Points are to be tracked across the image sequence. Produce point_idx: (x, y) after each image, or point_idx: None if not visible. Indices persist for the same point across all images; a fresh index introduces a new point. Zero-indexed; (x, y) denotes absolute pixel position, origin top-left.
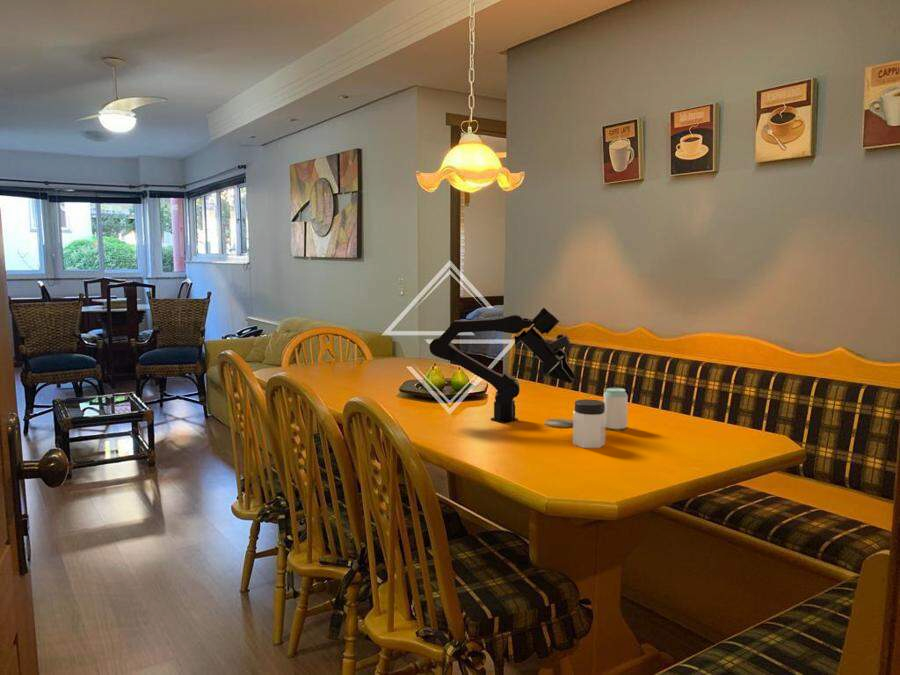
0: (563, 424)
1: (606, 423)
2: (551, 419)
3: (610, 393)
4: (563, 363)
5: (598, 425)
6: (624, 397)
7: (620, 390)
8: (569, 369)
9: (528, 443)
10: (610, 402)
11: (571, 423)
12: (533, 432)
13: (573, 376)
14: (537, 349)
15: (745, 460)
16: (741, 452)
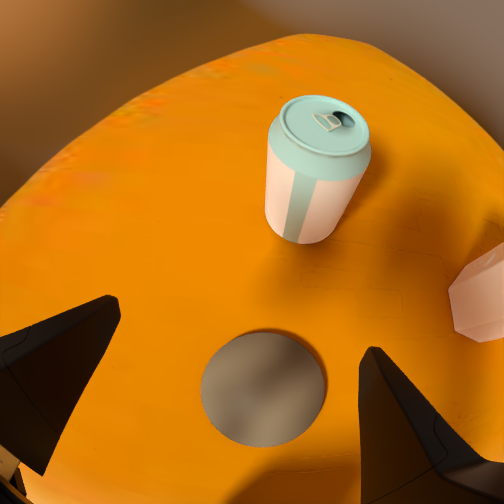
0: (301, 383)
1: (329, 232)
2: (220, 420)
3: (364, 154)
4: (10, 396)
5: None
6: (352, 123)
7: (322, 110)
8: (66, 339)
9: (470, 444)
10: (360, 179)
11: (282, 353)
12: None
13: (114, 312)
14: None
15: (443, 97)
16: (411, 84)
